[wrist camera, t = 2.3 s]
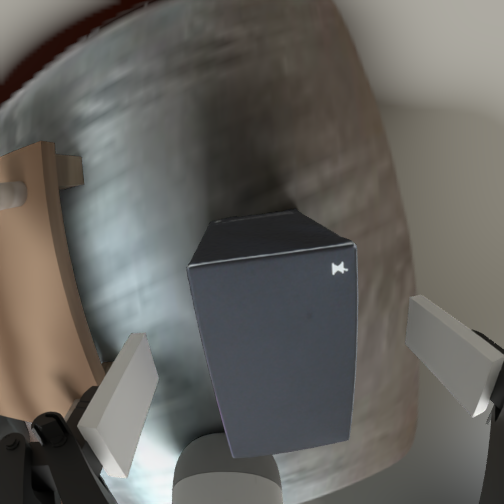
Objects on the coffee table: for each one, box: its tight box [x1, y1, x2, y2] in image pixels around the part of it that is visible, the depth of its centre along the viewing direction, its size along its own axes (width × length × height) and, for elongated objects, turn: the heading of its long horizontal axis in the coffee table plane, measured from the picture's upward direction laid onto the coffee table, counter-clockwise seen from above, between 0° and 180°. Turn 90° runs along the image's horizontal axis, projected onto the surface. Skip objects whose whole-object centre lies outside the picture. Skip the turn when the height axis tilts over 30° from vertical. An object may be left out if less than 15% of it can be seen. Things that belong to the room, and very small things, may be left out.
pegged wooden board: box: [0, 141, 113, 422], centre depth 16 cm, size 14×19×8 cm
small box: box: [187, 208, 358, 458], centre depth 16 cm, size 11×6×10 cm, turn 8°
